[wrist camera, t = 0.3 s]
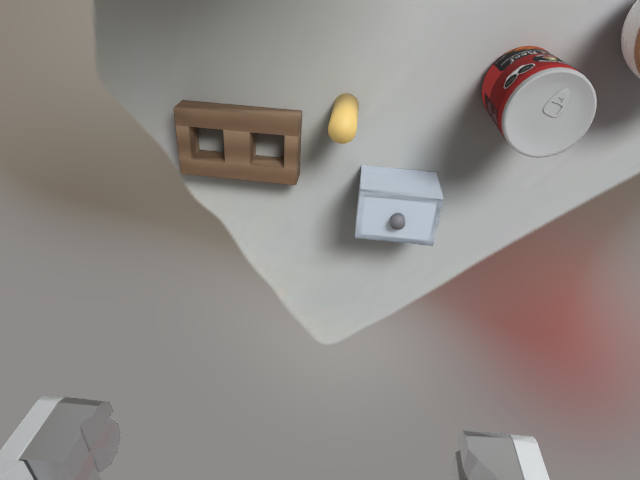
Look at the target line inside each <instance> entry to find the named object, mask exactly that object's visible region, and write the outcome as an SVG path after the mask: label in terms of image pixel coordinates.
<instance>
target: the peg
mask: <svg viewBox="0 0 640 480" xmlns="http://www.w3.org/2000/svg"><path fill="white" fill-rule="evenodd" d="M358 108H359V104H358V101H357V99H356V98H355V97H354V96H353V95H351V94H342V95H340V96H338V97H337V98H336V100H335V102H334V106H333V110H332V114H331V118H330V122H329V126H328V133H329V136H330V137H331V139H332V140H333V141H335V142H337V143H342V144H343V143H348V142H350V141H351V140H352V139H353V138H354V137H355V134H356V128H357V118H358Z"/></svg>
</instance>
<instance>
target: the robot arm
mask: <svg viewBox="0 0 640 480" xmlns="http://www.w3.org/2000/svg"><path fill="white" fill-rule="evenodd" d="M112 412H113V409H112V407H111V404H110V402H108V401H98V400H87V399H78V398H69V397H60V396H48V395H45V396H43V397H42V398H40V399H39V400H38V401H37V402H36V403H35V404H34V406H33V407H32V408H31V410H30V411H29V412H28V414H27V415H26V416H25V418H24V419H23V421H22V422H21V423H20V425H19V426H18V427H17V429H16V430H15V431H14V433H13V434H12V435H11V437H10V438H9V439H8V441H7V442H6V443H5V445H4V446H3V448H2V449H1V450H0V480H101V474H100V472H102V471H103V470H104V469H105V468H107V467H108V466H109V465H111V464H112V462H113V459H114V457H115V455H116V453H117V450H118V446H119V442H120V429H119V426H118V423H117V422H116V421H114V420H113V419H112V418H111V417H110V416H111V414H112ZM459 446H460V450H459V451H457V452H456V453H455V457H454V462H453V480H549V477H548V474H547V471H546V467H545V464H544V461H543V459H542V455H541V452H540V449H539V446H538V444H537V441H536V440H535V438H534V437H532V436H523V435H508V434H506V433H489V432H475V431H462V432H461V433H460V437H459Z"/></svg>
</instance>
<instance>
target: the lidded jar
mask: <svg viewBox="0 0 640 480" xmlns="http://www.w3.org/2000/svg"><path fill="white" fill-rule="evenodd" d="M621 49H622V53H623V57H624V59H625V61H626V63H627V65H628V67H629V68H630V69H631V71H632V72H633V73H634V74H635V75H636V76H637V77H638V78H639V79H640V0H636V2H635V3H634V4H633V6H632V8H631V9H630V11H629V13H628V15H627V17H626V19H625V22H624V25H623V29H622V35H621Z"/></svg>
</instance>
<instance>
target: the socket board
mask: <svg viewBox="0 0 640 480" xmlns="http://www.w3.org/2000/svg"><path fill="white" fill-rule="evenodd" d="M174 116H175V125H176V135H177V144H178V153H179V162H180V171H181V174H188V175H199V176H209V177H219V178H229V179H239V180H250V181H260V182H270V183H280V184H291V185H296V184H297V181H298V178H299V175H300V151H301V126H302V111H298V110H287V109H276V108H265V107H254V106H242V105H231V104H220V103H209V102H198V101H187V100H182V101H181V102H180V103H179V104H178V105H176V106H175V107H174ZM198 127H199V128H209V129H220V130H223V135H224V152H216V151H206V150H199V138H198ZM255 133H263V134H274V135H285V143H284V158H279V157H269V156H258V155H256V148H255Z"/></svg>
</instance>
